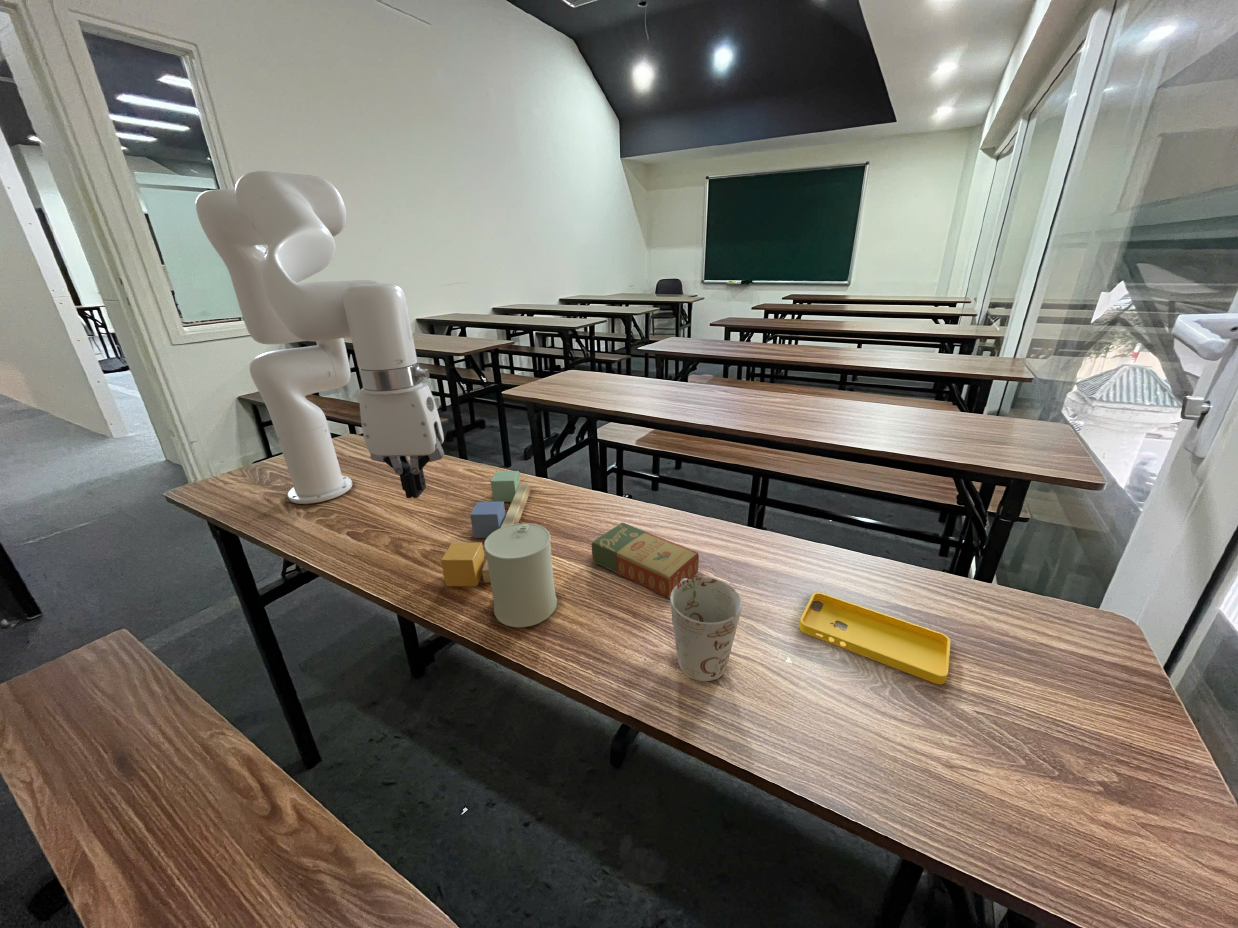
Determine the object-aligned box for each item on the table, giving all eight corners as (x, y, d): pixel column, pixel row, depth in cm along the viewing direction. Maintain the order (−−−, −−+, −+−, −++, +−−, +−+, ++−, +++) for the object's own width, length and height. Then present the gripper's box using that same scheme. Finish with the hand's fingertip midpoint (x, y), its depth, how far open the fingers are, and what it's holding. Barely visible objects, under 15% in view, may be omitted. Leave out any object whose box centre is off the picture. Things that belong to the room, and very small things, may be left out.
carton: (669, 600, 71) (669, 576, 70) (591, 561, 81) (589, 540, 79) (698, 573, 77) (699, 551, 75) (622, 540, 87) (621, 519, 85)
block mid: (473, 538, 89) (469, 514, 87) (481, 524, 93) (477, 501, 91) (500, 537, 89) (497, 514, 87) (506, 524, 93) (503, 501, 91)
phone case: (945, 687, 56) (947, 679, 55) (797, 630, 65) (798, 622, 64) (948, 643, 62) (951, 635, 62) (813, 597, 71) (814, 590, 71)
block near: (446, 586, 76) (440, 560, 74) (456, 567, 80) (451, 542, 78) (477, 586, 76) (472, 560, 74) (486, 567, 80) (482, 542, 78)
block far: (493, 502, 102) (490, 481, 100) (498, 491, 106) (495, 471, 104) (516, 501, 102) (514, 480, 100) (521, 491, 106) (518, 470, 104)
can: (562, 587, 75) (556, 520, 70) (549, 629, 66) (541, 557, 62) (505, 584, 76) (495, 518, 71) (485, 626, 67) (472, 554, 62)
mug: (684, 697, 56) (687, 630, 52) (648, 624, 67) (648, 565, 63) (748, 679, 58) (755, 614, 54) (703, 612, 69) (706, 553, 65)
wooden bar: (521, 492, 106) (520, 482, 105) (530, 492, 106) (529, 482, 105) (483, 582, 76) (481, 570, 75) (496, 582, 76) (494, 570, 75)
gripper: (453, 371, 70) (470, 482, 78) (352, 372, 70) (379, 484, 78) (435, 383, 64) (456, 505, 71) (323, 385, 64) (355, 506, 71)
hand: (415, 493), depth 74 cm, fingers closed
